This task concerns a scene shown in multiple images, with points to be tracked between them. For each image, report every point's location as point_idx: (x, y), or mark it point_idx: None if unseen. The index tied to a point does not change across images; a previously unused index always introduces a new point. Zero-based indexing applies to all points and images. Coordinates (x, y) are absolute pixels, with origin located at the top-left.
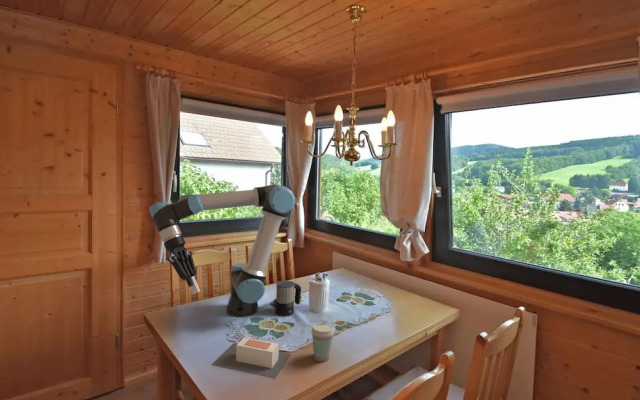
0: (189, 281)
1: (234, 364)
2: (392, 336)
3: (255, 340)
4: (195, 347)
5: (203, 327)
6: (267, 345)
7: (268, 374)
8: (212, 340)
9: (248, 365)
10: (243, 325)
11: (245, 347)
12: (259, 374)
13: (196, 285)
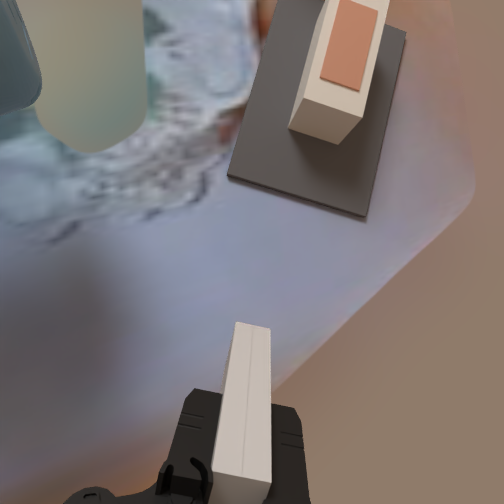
0: (302, 465)
1: (357, 146)
2: None
3: (326, 52)
4: (258, 306)
5: (91, 332)
6: (356, 9)
7: (392, 46)
8: (203, 259)
9: None
10: (65, 165)
11: (369, 86)
12: (395, 70)
13: (254, 368)
